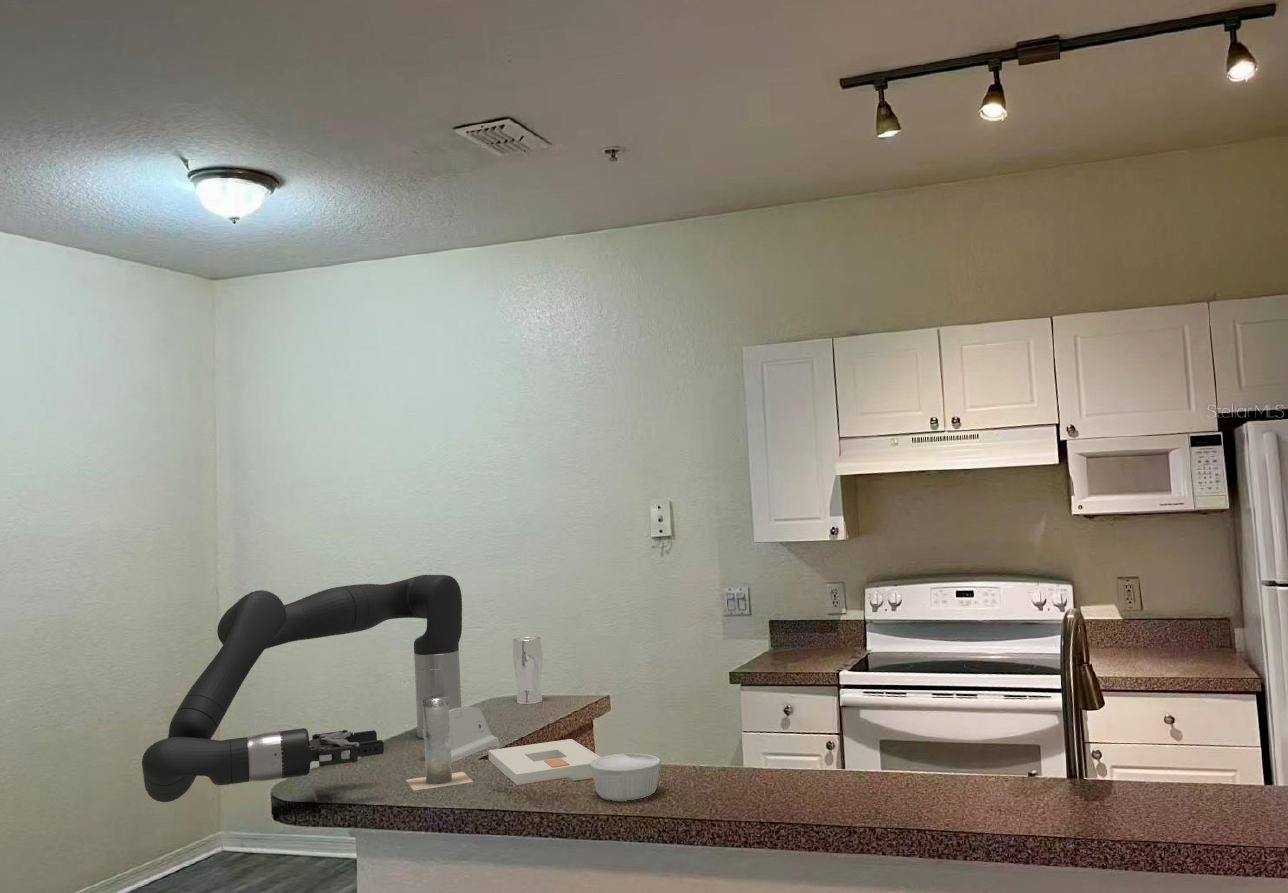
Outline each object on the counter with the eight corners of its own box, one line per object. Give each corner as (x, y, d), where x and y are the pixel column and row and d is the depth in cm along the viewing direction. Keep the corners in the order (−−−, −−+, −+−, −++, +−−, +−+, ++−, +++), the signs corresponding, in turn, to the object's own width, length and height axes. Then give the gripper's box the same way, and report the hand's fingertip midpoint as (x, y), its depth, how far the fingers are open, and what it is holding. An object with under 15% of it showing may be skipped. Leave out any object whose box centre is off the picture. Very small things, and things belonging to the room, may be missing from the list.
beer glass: (528, 698, 262) (525, 636, 263) (550, 700, 258) (547, 637, 259) (509, 703, 257) (506, 640, 257) (531, 705, 253) (528, 641, 253)
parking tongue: (405, 784, 186) (405, 779, 186) (463, 776, 190) (463, 771, 190) (413, 795, 179) (413, 790, 179) (473, 786, 183) (473, 781, 183)
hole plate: (488, 764, 198) (488, 749, 198) (572, 752, 204) (571, 737, 204) (517, 789, 179) (516, 773, 179) (607, 775, 185) (606, 759, 185)
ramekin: (673, 787, 176) (671, 755, 176) (641, 807, 166) (639, 772, 166) (614, 782, 181) (612, 750, 182) (579, 800, 171) (577, 767, 172)
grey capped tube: (424, 779, 186) (420, 697, 187) (449, 776, 187) (445, 694, 188) (428, 785, 182) (424, 701, 182) (454, 781, 183) (450, 698, 184)
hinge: (452, 767, 197) (434, 714, 199) (432, 774, 199) (415, 722, 201) (501, 746, 212) (484, 697, 214) (482, 753, 214) (466, 704, 216)
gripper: (279, 740, 169) (385, 726, 175) (275, 724, 182) (373, 711, 188) (281, 788, 169) (387, 773, 175) (276, 769, 182) (375, 755, 188)
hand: (379, 741), depth 181 cm, fingers open, 8 cm apart
